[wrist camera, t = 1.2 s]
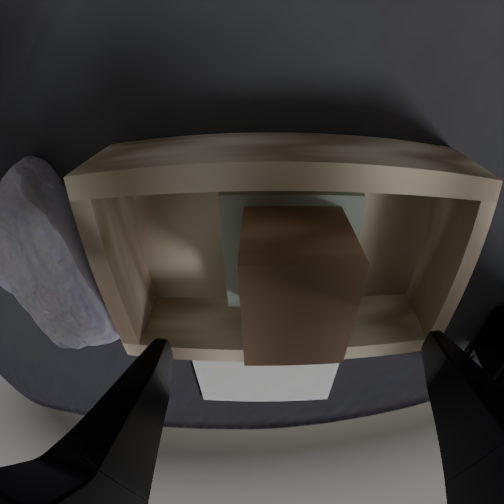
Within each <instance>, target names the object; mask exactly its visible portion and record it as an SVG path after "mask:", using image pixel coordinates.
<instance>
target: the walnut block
mask: <svg viewBox="0 0 504 504" xmlns="http://www.w3.org/2000/svg"><path fill="white" fill-rule="evenodd" d="M369 265H370V264H369V262H368V260H367V257H366V255H365V253H364V251H363V249H362V247H361V245H360V243H359V240H358V238H357V236H356V234H355V232H354V230H353V228H352V226H351V224H350V222H349V220H348V218H347V216H346V214H345V212H344V210H343V208H342V207H333V206H244V209H243V218H242V228H241V237H240V246H239V255H238V265H237V268H238V283H239V298H240V312H241V326H242V340H243V354H244V366H286V365H314V364H332V363H343V360H344V356H345V353H346V350H347V347H348V344H349V340H350V337H351V334H352V330H353V327H354V323H355V320H356V316H357V313H358V309H359V305H360V302H361V298H362V294H363V290H364V286H365V282H366V278H367V274H368V269H369Z"/></svg>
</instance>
